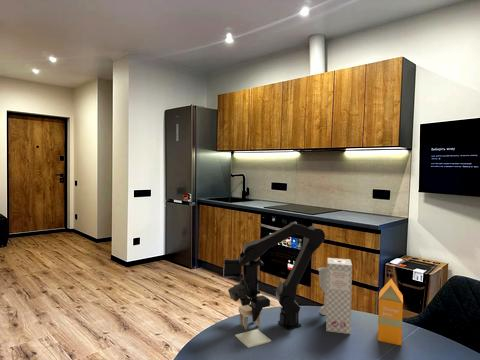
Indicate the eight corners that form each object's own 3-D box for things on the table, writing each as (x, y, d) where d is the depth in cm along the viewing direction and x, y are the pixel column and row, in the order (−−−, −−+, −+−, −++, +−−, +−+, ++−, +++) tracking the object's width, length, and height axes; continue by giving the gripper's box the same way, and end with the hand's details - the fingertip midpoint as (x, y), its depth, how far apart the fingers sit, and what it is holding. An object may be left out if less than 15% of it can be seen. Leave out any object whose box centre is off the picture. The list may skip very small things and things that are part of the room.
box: (326, 331, 124) (327, 263, 123) (326, 321, 132) (327, 257, 131) (350, 334, 122) (352, 265, 121) (348, 323, 130) (350, 259, 129)
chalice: (334, 317, 135) (335, 272, 135) (317, 315, 137) (318, 271, 136) (333, 309, 143) (334, 267, 142) (316, 308, 144) (317, 266, 143)
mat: (257, 330, 123) (257, 329, 123) (270, 341, 115) (270, 340, 115) (235, 336, 119) (235, 334, 119) (248, 348, 111) (248, 346, 111)
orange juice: (401, 334, 122) (403, 279, 122) (401, 345, 114) (403, 287, 114) (378, 329, 125) (379, 276, 125) (377, 340, 117) (378, 283, 117)
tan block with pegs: (254, 321, 131) (254, 303, 131) (261, 326, 126) (261, 308, 126) (238, 325, 128) (238, 306, 127) (244, 330, 123) (245, 311, 123)
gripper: (220, 272, 131) (220, 312, 131) (243, 287, 114) (243, 333, 115) (245, 269, 136) (244, 307, 137) (271, 283, 120) (270, 326, 120)
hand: (249, 317), depth 127 cm, fingers open, 6 cm apart
